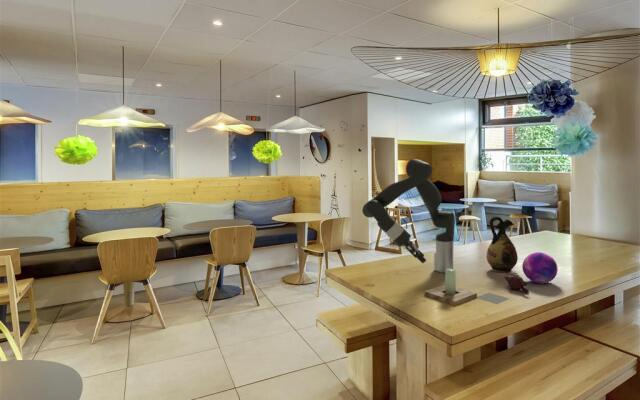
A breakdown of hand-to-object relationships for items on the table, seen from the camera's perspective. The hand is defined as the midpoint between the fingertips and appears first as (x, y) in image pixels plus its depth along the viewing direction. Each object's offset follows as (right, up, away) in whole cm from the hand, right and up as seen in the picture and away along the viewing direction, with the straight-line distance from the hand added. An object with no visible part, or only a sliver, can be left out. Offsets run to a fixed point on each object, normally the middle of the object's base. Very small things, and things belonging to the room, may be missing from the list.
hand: (423, 259), depth 171 cm
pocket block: (+12, -17, 0) cm, 21 cm away
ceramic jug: (+52, -12, +38) cm, 66 cm away
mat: (+29, -17, -4) cm, 34 cm away
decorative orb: (+61, -14, +16) cm, 65 cm away
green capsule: (+12, -16, 0) cm, 20 cm away
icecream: (+45, -15, +8) cm, 49 cm away
